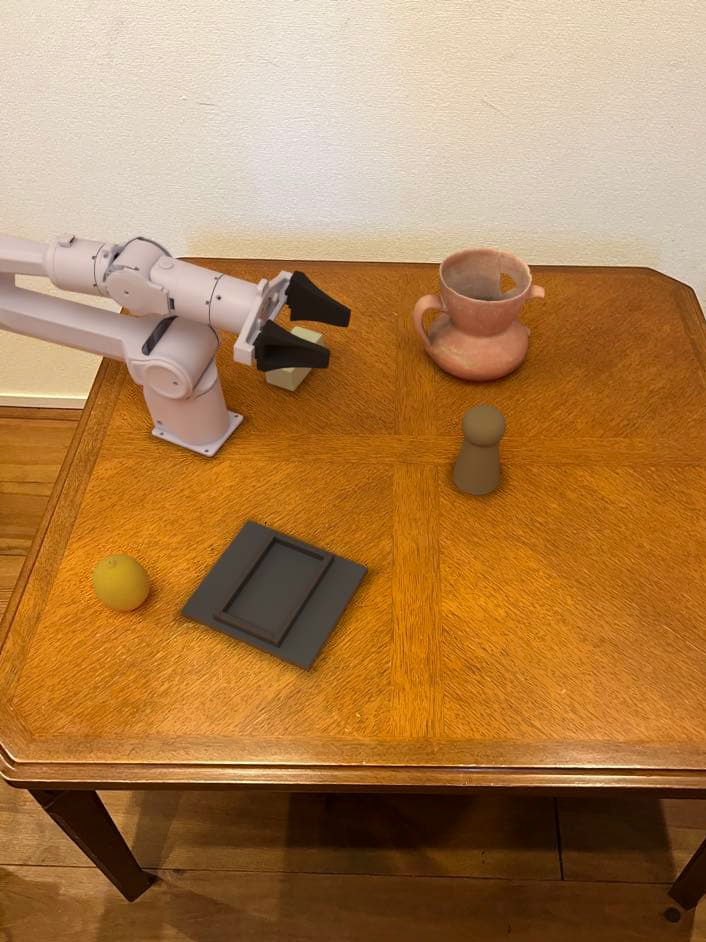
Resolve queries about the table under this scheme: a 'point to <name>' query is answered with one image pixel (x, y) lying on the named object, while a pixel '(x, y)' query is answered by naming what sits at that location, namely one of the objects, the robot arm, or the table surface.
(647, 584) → the table surface
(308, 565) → the base pad
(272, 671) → the table surface
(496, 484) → the brown pawn
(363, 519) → the table surface
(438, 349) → the ceramic jug
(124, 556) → the lemon
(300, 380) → the cream rectangular block
